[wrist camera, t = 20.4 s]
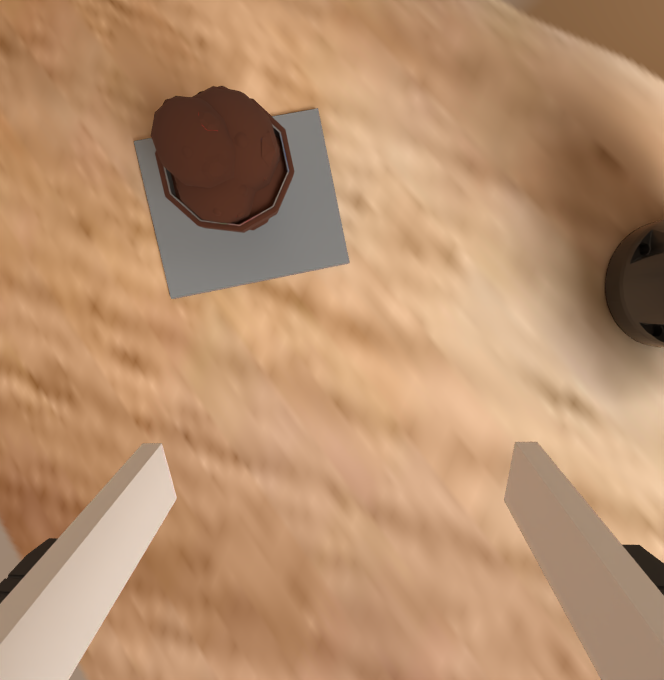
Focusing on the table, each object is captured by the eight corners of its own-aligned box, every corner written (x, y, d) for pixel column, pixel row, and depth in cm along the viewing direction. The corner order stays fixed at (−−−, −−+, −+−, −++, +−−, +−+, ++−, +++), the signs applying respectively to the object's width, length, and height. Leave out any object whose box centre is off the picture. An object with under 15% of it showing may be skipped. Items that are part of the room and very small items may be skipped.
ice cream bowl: (254, 275, 37) (214, 241, 22) (175, 205, 36) (77, 119, 21) (318, 204, 37) (322, 120, 22) (241, 132, 36) (190, -6, 21)
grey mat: (317, 111, 37) (317, 108, 36) (348, 263, 38) (349, 262, 37) (136, 144, 36) (133, 141, 35) (173, 298, 37) (170, 298, 36)
